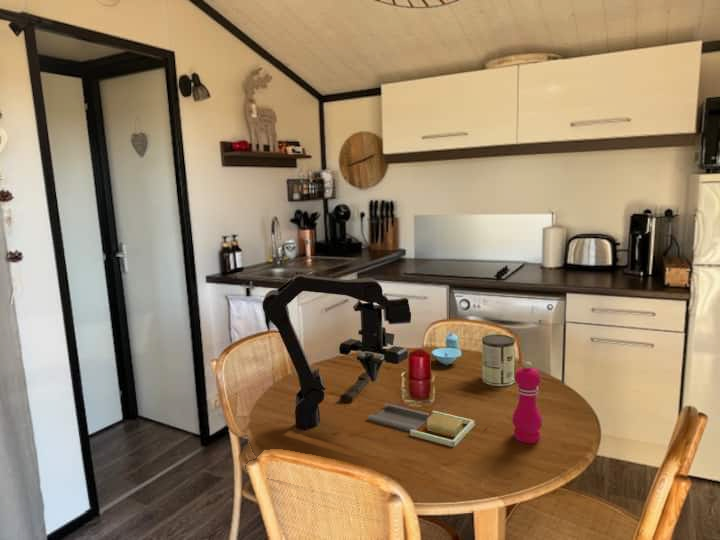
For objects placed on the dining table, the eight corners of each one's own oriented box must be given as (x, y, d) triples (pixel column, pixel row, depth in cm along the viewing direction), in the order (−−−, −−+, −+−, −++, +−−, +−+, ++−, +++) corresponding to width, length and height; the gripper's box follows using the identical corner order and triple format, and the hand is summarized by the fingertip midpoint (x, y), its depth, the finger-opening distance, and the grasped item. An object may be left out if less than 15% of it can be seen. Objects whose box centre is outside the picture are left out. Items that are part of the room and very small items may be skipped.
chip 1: (441, 436, 132) (441, 422, 131) (427, 433, 134) (427, 418, 134) (447, 430, 135) (447, 416, 135) (434, 427, 138) (433, 412, 137)
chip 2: (455, 440, 130) (455, 426, 129) (441, 437, 132) (441, 422, 131) (462, 434, 133) (462, 419, 132) (447, 430, 135) (447, 416, 135)
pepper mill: (538, 447, 126) (539, 369, 123) (508, 440, 130) (509, 364, 126) (544, 434, 132) (546, 359, 129) (516, 428, 136) (517, 355, 132)
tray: (454, 451, 125) (453, 441, 125) (410, 439, 132) (410, 430, 132) (474, 429, 136) (474, 420, 136) (433, 419, 143) (433, 410, 142)
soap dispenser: (457, 370, 178) (457, 345, 177) (428, 367, 182) (427, 343, 181) (467, 354, 195) (467, 331, 193) (440, 351, 199) (440, 329, 197)
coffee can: (487, 372, 175) (487, 332, 173) (518, 377, 170) (518, 336, 167) (477, 383, 167) (477, 341, 164) (509, 388, 161) (509, 345, 159)
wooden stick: (351, 408, 152) (351, 393, 152) (339, 406, 154) (339, 391, 153) (376, 384, 169) (375, 371, 169) (364, 383, 171) (364, 369, 170)
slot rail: (413, 436, 133) (413, 428, 133) (368, 424, 141) (367, 416, 141) (430, 421, 141) (430, 413, 141) (386, 410, 149) (386, 402, 149)
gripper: (416, 322, 139) (418, 377, 142) (359, 314, 149) (361, 366, 152) (396, 333, 130) (397, 391, 132) (336, 324, 140) (339, 378, 143)
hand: (373, 381), depth 140 cm, fingers closed
